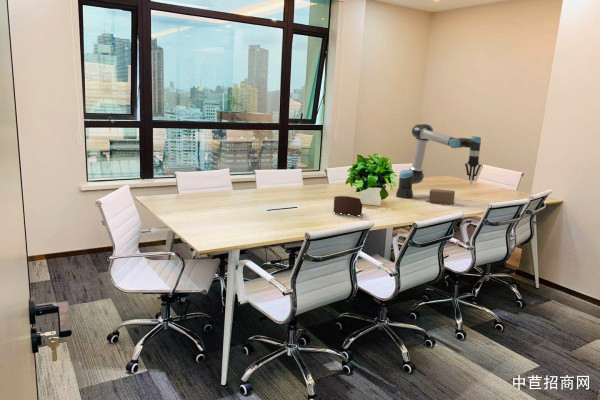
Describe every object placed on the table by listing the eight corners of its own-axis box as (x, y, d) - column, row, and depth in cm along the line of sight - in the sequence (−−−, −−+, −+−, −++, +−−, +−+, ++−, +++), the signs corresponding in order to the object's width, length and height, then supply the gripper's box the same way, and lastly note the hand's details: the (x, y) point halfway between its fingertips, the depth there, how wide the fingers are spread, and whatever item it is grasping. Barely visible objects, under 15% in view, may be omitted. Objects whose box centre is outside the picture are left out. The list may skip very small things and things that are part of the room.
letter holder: (359, 216, 339) (360, 197, 336) (333, 213, 344) (334, 195, 341) (361, 213, 348) (363, 195, 345) (336, 211, 354) (337, 192, 351)
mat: (425, 201, 395) (425, 200, 395) (431, 198, 409) (431, 197, 408) (449, 205, 385) (449, 204, 385) (454, 202, 398) (454, 201, 398)
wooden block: (454, 192, 382) (429, 190, 389) (453, 204, 384) (428, 202, 391) (454, 190, 392) (430, 188, 398) (453, 202, 394) (429, 199, 400)
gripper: (464, 155, 376) (461, 183, 381) (481, 156, 369) (478, 185, 374) (466, 154, 382) (463, 182, 387) (483, 156, 376) (480, 184, 381)
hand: (470, 184), depth 381 cm, fingers closed
